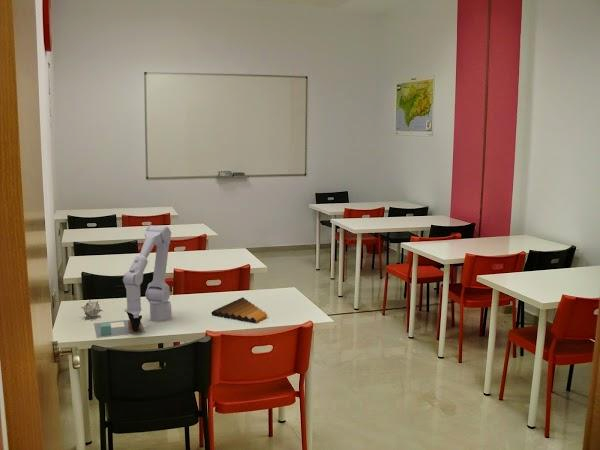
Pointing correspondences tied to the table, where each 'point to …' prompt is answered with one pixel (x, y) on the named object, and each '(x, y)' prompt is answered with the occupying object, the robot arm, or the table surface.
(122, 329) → the board
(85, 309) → the grey spiky ball
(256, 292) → the table surface
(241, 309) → the pan flute
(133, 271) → the robot arm
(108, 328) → the teal block
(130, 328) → the walnut block
